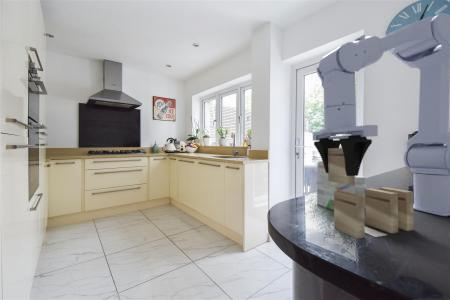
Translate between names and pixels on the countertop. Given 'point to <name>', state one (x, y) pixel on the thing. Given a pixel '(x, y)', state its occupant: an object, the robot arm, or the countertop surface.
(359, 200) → the tile
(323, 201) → the ink box
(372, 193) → the tile
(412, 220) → the tile
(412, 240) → the countertop surface
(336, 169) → the tile
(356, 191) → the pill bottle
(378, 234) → the plate
